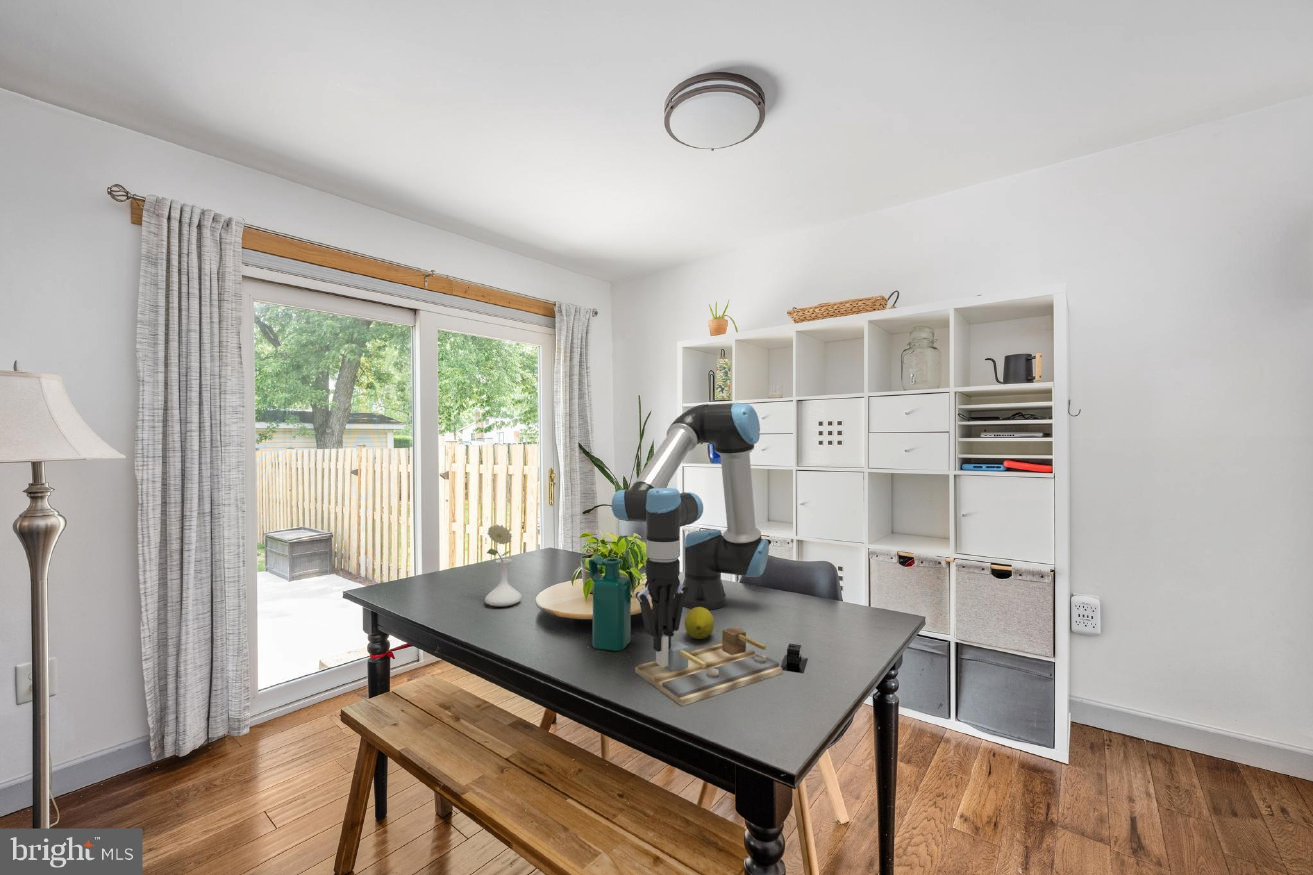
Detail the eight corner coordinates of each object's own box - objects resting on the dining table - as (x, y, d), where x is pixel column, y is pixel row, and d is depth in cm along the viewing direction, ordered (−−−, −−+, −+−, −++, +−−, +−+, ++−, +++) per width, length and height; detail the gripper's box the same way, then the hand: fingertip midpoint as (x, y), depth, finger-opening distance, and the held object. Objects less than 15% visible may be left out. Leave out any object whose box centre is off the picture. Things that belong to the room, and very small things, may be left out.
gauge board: (729, 647, 138) (730, 622, 138) (782, 673, 123) (782, 645, 123) (635, 672, 122) (635, 645, 122) (681, 706, 107) (682, 674, 107)
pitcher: (632, 640, 142) (633, 556, 142) (621, 652, 134) (622, 563, 134) (597, 636, 144) (598, 553, 144) (585, 648, 136) (585, 560, 136)
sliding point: (677, 662, 125) (677, 641, 125) (711, 682, 115) (711, 660, 115) (663, 666, 123) (663, 644, 123) (696, 687, 113) (696, 664, 113)
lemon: (689, 629, 150) (689, 600, 150) (717, 633, 148) (717, 603, 148) (679, 644, 140) (679, 613, 140) (708, 647, 137) (709, 616, 137)
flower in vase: (529, 602, 174) (530, 524, 174) (501, 612, 164) (502, 529, 164) (501, 595, 180) (501, 520, 180) (473, 604, 171) (473, 525, 171)
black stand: (783, 654, 135) (783, 635, 135) (813, 658, 132) (813, 640, 132) (774, 674, 123) (774, 654, 123) (807, 679, 121) (807, 659, 121)
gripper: (677, 551, 127) (676, 652, 127) (629, 558, 120) (628, 664, 120) (696, 558, 121) (695, 663, 121) (646, 565, 114) (646, 677, 114)
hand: (662, 664), depth 120 cm, fingers closed
